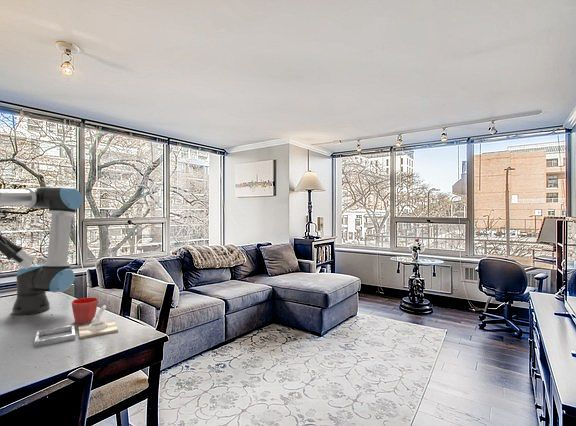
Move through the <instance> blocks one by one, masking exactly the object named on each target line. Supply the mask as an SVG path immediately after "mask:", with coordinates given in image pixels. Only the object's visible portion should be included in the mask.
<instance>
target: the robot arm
mask: <svg viewBox="0 0 576 426" xmlns="http://www.w3.org/2000/svg"><path fill="white" fill-rule="evenodd" d="M82 204H83V196H82V194H81V193H80V191H79V189H77V188H76V187H72V186H42V187H41V186H40V187H25V188H24V189H2V188H1V189H0V206H24V207H25V208H41V209H48V212H49V214H51V218H50V219H51V222H50V228H49V239H48V245H47V246H48V247H47V256H46V261H45V263H44V264H36V265H33V262H34V261H36V258H34V257H33V256H31V255H30V254H29V253H27V252H26V251H24V250H23V248H24V247H22V246H18V245H17V244H15V243H14V242H12V241H11V240H9V239H8V238H6V237H5V236H3V235H1V234H0V253H2V254H3V255H4V256H5V257H6V259H7V260H12V261H14V262H15V263H17V264H18V265H20V267H19V268H18V269H17V271H16V299H15V301H14V304H13V306H12V310H11V311H12V312H11V313H12V315H15V316H23V315H25V316H26V315H33V314H38V313H42V312H45V311H47V310H49V309H50V308H51V306H50V305H51V304H50V301H49V299H48V296H47V292H51V293H62V292H65V291H67V290H69V289H70V288H71V286H72V285H73V284H74V282H75V278H76V275H75V272H74V270H73V269H71V264H70V263H69V262H68V259H69V258H68V256H69V246H70V240H71V238H70V237H71V228H72V220H73V216H74V215H76V214H77V210H78V209H80V207H82Z"/></svg>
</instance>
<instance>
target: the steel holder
mask: <svg viewBox="0 0 576 426" xmlns="http://www.w3.org/2000/svg"><path fill="white" fill-rule="evenodd" d="M65 332H71V333H70V334H65V335H60V336H54V337H48V338H44V339H43V338H42V339H40V337H42V336H47V335H48V336H49V335H53V334H59V333H65ZM73 340H74V341H75V340H76V329H75V325H74V324H72V325H71V324H70V325H65V326H59V327H58V326H57V327H51V328H45V329H41V330H37V331H36V332H35V338H34V341H33V342H34V344H33V346H34V347H42V346H45V345H46V346H47V345H53V344H58V343H62V342H68V341H73Z"/></svg>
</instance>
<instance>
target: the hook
mask: <svg viewBox="0 0 576 426" xmlns="http://www.w3.org/2000/svg"><path fill="white" fill-rule="evenodd" d="M106 308H107V306H106V305H105V304H103V306H101V308H100V309H99V310H98V311H97V312H96V314H95V317H94V318H93V320H92V321H91V322H90V325H89V326H88V330H91V331H95V330H101V329H104V328H106V327H108V325H107V323H106V321H102V319H101V316H102V315H103V313H104V311H105V310H106ZM95 325H100V326H95Z"/></svg>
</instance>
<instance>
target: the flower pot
mask: <svg viewBox="0 0 576 426" xmlns="http://www.w3.org/2000/svg"><path fill="white" fill-rule="evenodd" d="M98 303H99V298H98V297H83V298H82V297H81V298H77V299H73V300H72V301H71V307H72V315H73V319H74V323H77V324H87V323H92V320H93V318H94V317H95V316H96V315H97V308H98Z"/></svg>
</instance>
